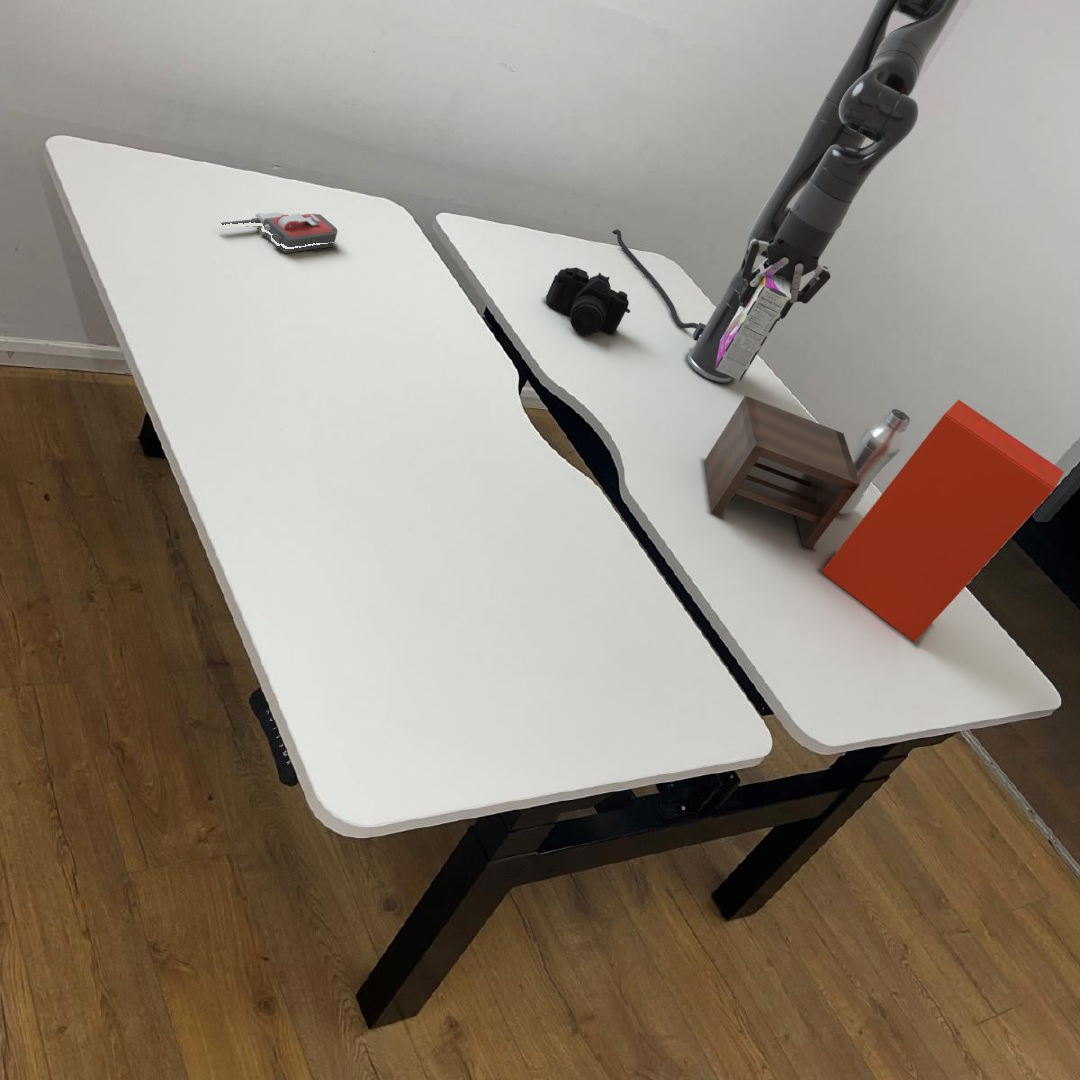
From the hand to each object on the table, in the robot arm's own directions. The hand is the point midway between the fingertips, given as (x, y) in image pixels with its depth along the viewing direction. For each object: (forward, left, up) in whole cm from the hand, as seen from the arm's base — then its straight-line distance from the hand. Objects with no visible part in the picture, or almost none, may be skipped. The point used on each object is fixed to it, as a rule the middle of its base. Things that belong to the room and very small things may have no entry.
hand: (758, 311), depth 167 cm
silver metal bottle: (+8, +27, -24) cm, 37 cm away
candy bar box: (0, 0, -10) cm, 10 cm away
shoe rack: (+16, +11, -24) cm, 31 cm away
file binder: (+30, +30, -24) cm, 49 cm away
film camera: (-22, -21, -24) cm, 39 cm away
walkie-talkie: (-11, -75, -24) cm, 80 cm away
